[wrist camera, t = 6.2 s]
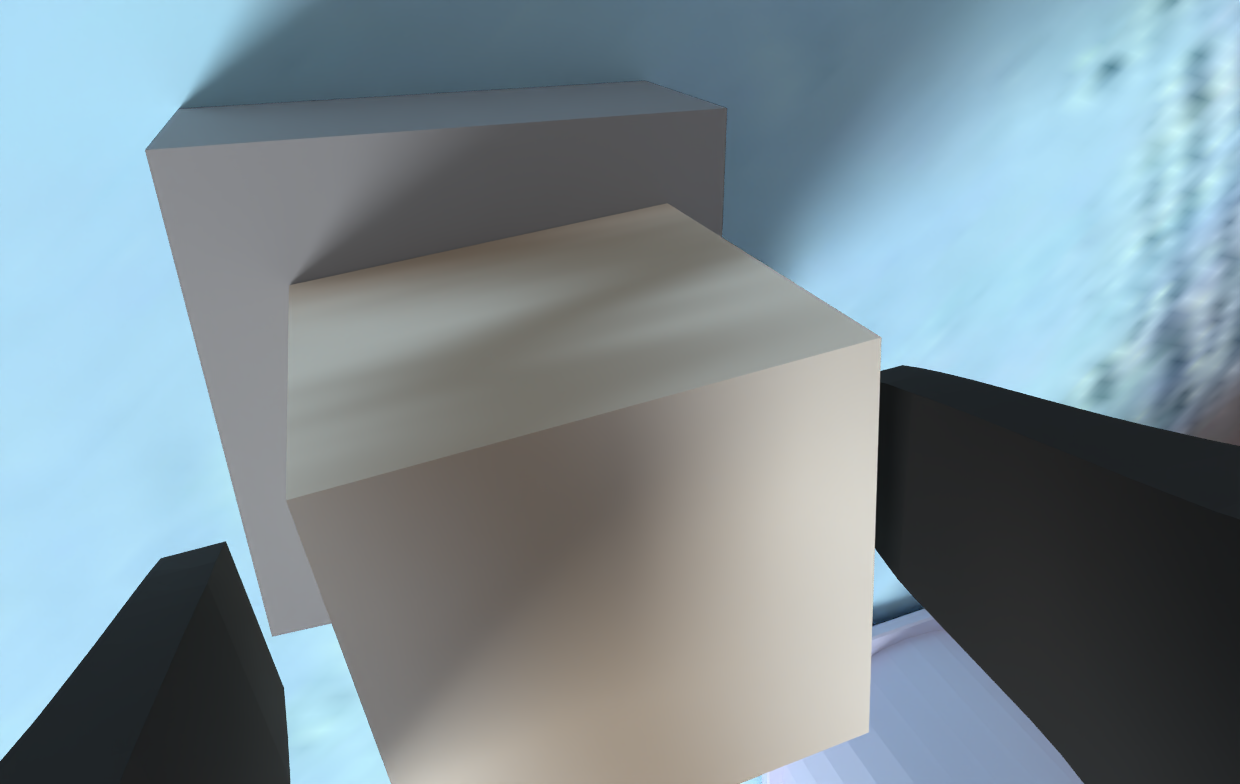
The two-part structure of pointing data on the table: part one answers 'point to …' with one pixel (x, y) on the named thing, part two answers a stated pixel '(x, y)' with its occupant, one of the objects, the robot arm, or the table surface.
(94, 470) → the table surface
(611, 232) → the cream cube
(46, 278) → the table surface
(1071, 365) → the table surface
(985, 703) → the robot arm
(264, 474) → the gray base block
